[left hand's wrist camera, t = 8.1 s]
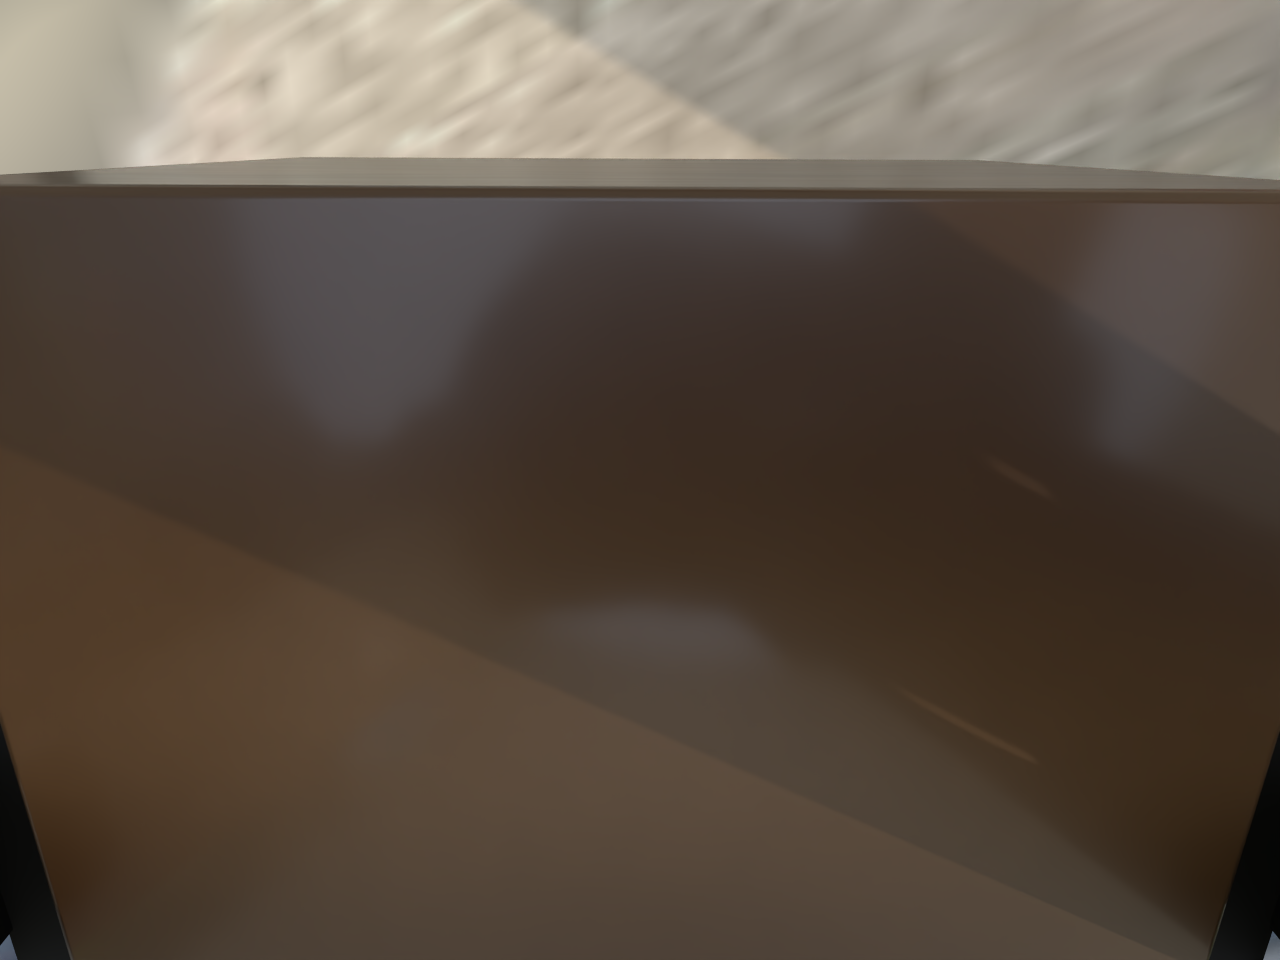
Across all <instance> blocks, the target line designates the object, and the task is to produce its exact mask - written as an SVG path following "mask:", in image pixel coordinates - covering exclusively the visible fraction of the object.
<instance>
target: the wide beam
mask: <svg viewBox="0 0 1280 960" xmlns="http://www.w3.org/2000/svg"><path fill="white" fill-rule="evenodd" d="M0 724H1V727H2V731H3V734H4V737H5V741H6V744H7V747H8V751H9V754H10V757H11V761H12V764H13V767H14V771H15V774H16V778H17V781H18V784H19V788H20V791H21V794H22V798H23V801H24V804H25V808H26V811H27V815H28V818H29V821H30V825H31V828H32V831H33V835H34V838H35V841H36V845H37V848H38V852H39V855H40V858H41V862H42V865H43V868H44V872H45V875H46V878H47V882H48V885H49V888H50V892H51V895H52V899H53V902H54V905H55V909H56V912H57V915H58V919H59V922H60V925H61V929H62V932H63V936H64V939H65V942H66V946H67V949H68V952H69V956H70V959H71V960H1209V958H1210V955H1211V952H1212V949H1213V945H1214V942H1215V939H1216V936H1217V932H1218V929H1219V926H1220V923H1221V920H1222V916H1223V913H1224V910H1225V907H1226V903H1227V900H1228V897H1229V894H1230V890H1231V887H1232V884H1233V881H1234V877H1235V874H1236V871H1237V868H1238V865H1239V861H1240V858H1241V855H1242V852H1243V848H1244V845H1245V842H1246V839H1247V835H1248V832H1249V829H1250V826H1251V822H1252V819H1253V816H1254V813H1255V810H1256V806H1257V803H1258V800H1259V797H1260V793H1261V790H1262V787H1263V784H1264V780H1265V777H1266V774H1267V771H1268V767H1269V764H1270V761H1271V758H1272V754H1273V751H1274V748H1275V745H1276V742H1277V738H1278V735H1279V732H1280V180H1270V179H1254V178H1239V177H1224V176H1208V175H1193V174H1178V173H1163V172H1147V171H1132V170H1117V169H1102V168H1086V167H1071V166H1056V165H1041V164H1025V163H1010V162H995V161H980V160H783V159H560V158H338V157H300V158H283V159H265V160H248V161H231V162H214V163H196V164H179V165H162V166H145V167H127V168H110V169H93V170H76V171H58V172H41V173H24V174H7V175H0Z"/></svg>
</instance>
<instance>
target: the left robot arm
mask: <svg viewBox="0 0 1280 960" xmlns="http://www.w3.org/2000/svg"><path fill="white" fill-rule="evenodd" d="M1272 931H1273V932H1274V933H1275V934H1276V935H1277V937H1278V938H1279V939H1280V732H1279V735H1278V738H1277V742H1276V745H1275V748H1274V751H1273V754H1272V758H1271V761H1270V764H1269V767H1268V771H1267V774H1266V777H1265V780H1264V784H1263V787H1262V790H1261V793H1260V797H1259V800H1258V803H1257V806H1256V810H1255V813H1254V816H1253V819H1252V822H1251V826H1250V829H1249V832H1248V835H1247V839H1246V842H1245V845H1244V848H1243V852H1242V855H1241V858H1240V861H1239V865H1238V868H1237V871H1236V874H1235V877H1234V881H1233V884H1232V887H1231V890H1230V894H1229V897H1228V900H1227V903H1226V907H1225V910H1224V913H1223V916H1222V920H1221V923H1220V926H1219V929H1218V932H1217V936H1216V939H1215V942H1214V945H1213V949H1212V952H1211V955H1210V958H1209V960H1263V959H1264V955H1265V952H1266V949H1267V946H1268V943H1269V940H1270V937H1271V934H1272ZM9 934H10V937H11V940H12V944H13V947H14V950H15V953H16V956H17V959H18V960H71V959H70V956H69V952H68V949H67V946H66V942H65V939H64V936H63V932H62V929H61V925H60V922H59V919H58V915H57V912H56V909H55V905H54V902H53V899H52V895H51V892H50V888H49V885H48V882H47V878H46V875H45V872H44V868H43V865H42V862H41V858H40V855H39V852H38V848H37V845H36V841H35V838H34V835H33V831H32V828H31V825H30V821H29V818H28V815H27V811H26V808H25V804H24V801H23V798H22V794H21V791H20V788H19V784H18V781H17V778H16V774H15V771H14V767H13V764H12V761H11V757H10V754H9V751H8V747H7V744H6V741H5V737H4V734H3V731H2V727H1V724H0V945H1V944H2V943H3V941H4V940H5V939H6V938H7V936H8V935H9Z"/></svg>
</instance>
